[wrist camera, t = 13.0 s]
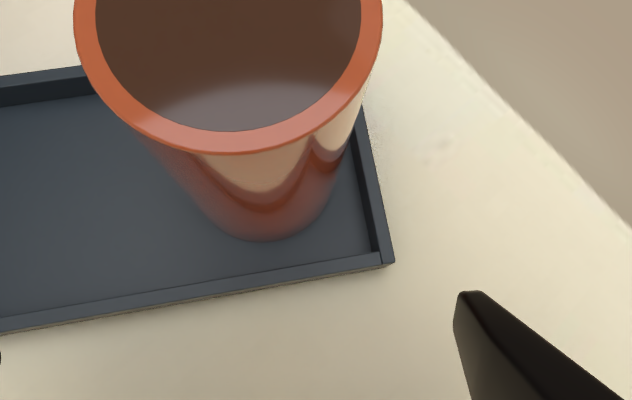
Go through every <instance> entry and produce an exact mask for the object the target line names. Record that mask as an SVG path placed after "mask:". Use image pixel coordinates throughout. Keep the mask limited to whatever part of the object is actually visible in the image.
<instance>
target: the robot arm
mask: <svg viewBox="0 0 632 400" xmlns="http://www.w3.org/2000/svg"><path fill="white" fill-rule="evenodd" d="M453 332H454V336H455V340H456V343H457V347H458V351H459V355H460V358H461V362H462V366H463V369H464V373H465V377H466V381H467V384H468V388H469V392H470V395H471V399H472V400H624V399H623V398H621V397H620V396H619V395H617V394H616V393H615V392H613V391H612V390H611V389H609V388H608V387H607V386H605V385H604V384H603V383H602V382H600V381H599V380H598V379H596V378H595V377H594V376H592V375H591V374H590V373H588V372H587V371H586V370H584V369H583V368H582V367H581V366H579V365H578V364H577V363H575V362H574V361H573V360H571V359H570V358H569V357H567V356H566V355H565V354H564V353H562V352H561V351H560V350H558V349H557V348H556V347H554V346H553V345H552V344H550V343H549V342H548V341H546V340H545V339H544V338H543V337H541V336H540V335H539V334H537V333H536V332H535V331H533V330H532V329H531V328H529V327H528V326H527V325H526V324H524V323H523V322H522V321H520V320H519V319H518V318H516V317H515V316H514V315H512V314H511V313H510V312H508V311H507V310H506V309H505V308H503V307H502V306H501V305H499V304H498V303H497V302H495V301H494V300H493V299H491V298H490V297H489V296H487V295H486V294H485V293H483V292H482V291H478V290H475V291H462V292H460V293H459V295H458V298H457V303H456V308H455V313H454V318H453ZM0 363H1V352H0Z"/></svg>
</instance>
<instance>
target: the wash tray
mask: <svg viewBox="0 0 632 400" xmlns="http://www.w3.org/2000/svg"><path fill="white" fill-rule="evenodd" d="M393 263H395V256H394V252H393V247H392V242H391V238H390V233H389V228H388V224H387V219H386V214H385V210H384V205H383V200H382V196H381V191H380V186H379V182H378V177H377V172H376V168H375V163H374V158H373V154H372V149H371V144H370V140H369V135H368V130H367V126H366V121H365V116H364V112H363V107H362V103H361V106H360V109H359V112H358V115H357V118H356V121H355V124H354V127H353V130H352V133H351V136H350V139H349V142H348V145H347V148H346V151H345V154H344V157H343V160H342V163H341V166H340V169H339V172H338V175H337V178H336V181H335V184H334V187H333V190H332V193H331V196H330V198H329V201H328V203H327V205H326V206H325V208H324V210H323V211H322V213H321V214H320V215H319V216H318V218H317V219H316V220H315V221H314V222H313V223H312V224H311V225H310V226H308V227H307V228H306V229H304V230H303V231H301V232H299V233H298V234H296V235H294V236H292V237H289V238H287V239H283V240H280V241H275V242H267V243H256V242H249V241H244V240H240V239H237V238H235V237H232V236H230V235H228V234H226V233H224V232H223V231H221V230H220V229H218V228H217V227H216V226H214V225H213V224H212V223H211V222H210V221H209V220H208V219H207V218H206V217H205V215H204V214H203V213H202V212H201V211H200V210H199V209H198V208H197V206H196V205H195V204H194V203H193V202H192V201H191V200H190V199H189V197H188V196H187V195H186V194H185V193H184V192H183V191H182V190H181V188H180V187H179V186H178V185H177V184H176V183H175V182H174V181H173V180H172V178H171V177H170V176H169V175H168V174H167V173H166V172H165V171H164V169H163V168H162V167H161V166H160V165H159V164H158V163H157V162H156V160H155V159H154V158H153V157H152V156H151V155H150V154H149V153H148V151H147V150H146V149H145V148H144V147H143V146H142V145H141V144H140V142H139V141H138V140H137V139H136V138H135V137H134V136H133V135H132V134H131V132H130V131H129V130H128V129H127V128H126V127H125V126H124V125H123V123H122V122H121V121H120V120H119V119H118V118H117V117H116V116H115V114H114V113H113V112H112V111H111V110H110V109H109V108H108V107H107V105H106V104H105V103H104V102H103V101H102V99H101V98H100V97H99V95H98V94H97V93H96V91H95V90H94V88H93V87H92V85H91V84H90V82H89V80H88V78H87V76H86V74H85V72H84V70H83V68H82V65H80V66H72V67H65V68H57V69H50V70H42V71H35V72H27V73H20V74H12V75H5V76H0V336H3V335H8V334H14V333H19V332H25V331H31V330H36V329H42V328H48V327H53V326H59V325H64V324H70V323H76V322H81V321H87V320H92V319H98V318H104V317H109V316H115V315H120V314H126V313H132V312H137V311H143V310H149V309H154V308H160V307H165V306H171V305H177V304H182V303H188V302H193V301H199V300H205V299H210V298H216V297H221V296H227V295H233V294H238V293H244V292H249V291H255V290H261V289H266V288H272V287H278V286H283V285H289V284H294V283H300V282H306V281H311V280H317V279H322V278H328V277H334V276H339V275H345V274H350V273H356V272H362V271H367V270H373V269H379V268H384V267H387V266H389V265H391V264H393Z"/></svg>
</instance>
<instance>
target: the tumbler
mask: <svg viewBox="0 0 632 400" xmlns="http://www.w3.org/2000/svg"><path fill="white" fill-rule="evenodd" d="M382 28H383V8H382V1H381V0H75V2H74V10H73V29H74V38H75V44H76V49H77V53H78V56H79V59H80V62H81V65H82V68H83V70H84V72H85V74H86V76H87V78H88V80H89V82H90V84H91V85H92V87H93V88H94V90H95V91H96V93H97V94H98V95H99V97H100V98H101V99H102V101H103V102H104V103H105V104H106V105H107V107H108V108H109V109H110V110H111V111H112V112H113V113H114V114H115V116H116V117H117V118H118V119H119V120H120V121H121V122H122V123H123V125H124V126H125V127H126V128H127V129H128V130H129V131H130V132H131V134H132V135H133V136H134V137H135V138H136V139H137V140H138V141H139V142H140V144H141V145H142V146H143V147H144V148H145V149H146V150H147V151H148V153H149V154H150V155H151V156H152V157H153V158H154V159H155V160H156V162H157V163H158V164H159V165H160V166H161V167H162V168H163V169H164V171H165V172H166V173H167V174H168V175H169V176H170V177H171V178H172V180H173V181H174V182H175V183H176V184H177V185H178V186H179V187H180V188H181V190H182V191H183V192H184V193H185V194H186V195H187V196H188V197H189V199H190V200H191V201H192V202H193V203H194V204H195V205H196V206H197V208H198V209H199V210H200V211H201V212H202V213H203V214H204V215H205V217H206V218H207V219H208V220H209V221H210V222H211V223H212V224H213V225H214V226H216V227H217V228H218V229H220V230H221V231H223V232H224V233H226V234H228V235H230V236H232V237H235V238H237V239H240V240H244V241H249V242H256V243H267V242H275V241H280V240H283V239H287V238H289V237H292V236H294V235H296V234H298V233H299V232H301V231H303V230H304V229H306V228H307V227H308V226H310V225H311V224H312V223H313V222H314V221H315V220H316V219H317V218H318V216H319V215H320V214H321V213H322V211H323V210H324V208H325V206H326V205H327V203H328V201H329V198H330V196H331V193H332V190H333V187H334V184H335V181H336V178H337V175H338V172H339V169H340V166H341V163H342V160H343V157H344V154H345V151H346V148H347V145H348V142H349V139H350V136H351V133H352V130H353V127H354V124H355V121H356V118H357V115H358V112H359V109H360V106H361V103H362V100H363V97H364V94H365V91H366V88H367V85H368V82H369V80H370V77H371V74H372V71H373V68H374V65H375V62H376V59H377V55H378V51H379V47H380V43H381V37H382Z"/></svg>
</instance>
